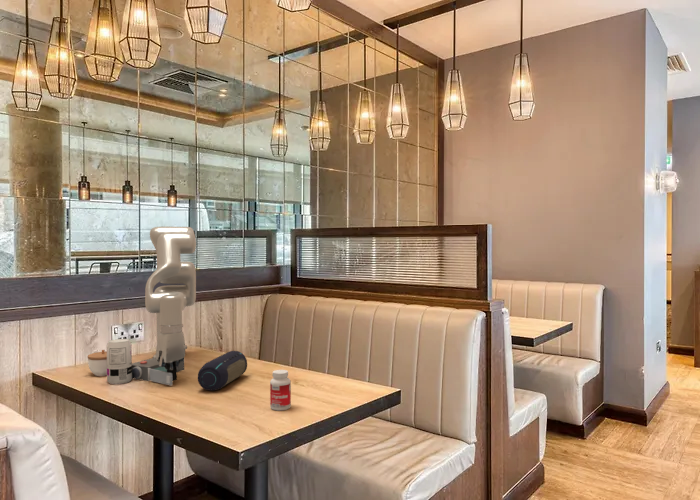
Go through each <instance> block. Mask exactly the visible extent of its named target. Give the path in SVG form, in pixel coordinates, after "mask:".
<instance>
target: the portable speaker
mask: <svg viewBox="0 0 700 500" xmlns="http://www.w3.org/2000/svg"><path fill="white" fill-rule="evenodd" d="M247 368H248V359H247V358H246V356H245V355H244V354H243V353H242V352H241V351H238V350H230V351H227V352H225V353H224V354H221V355H219V356H218V357H215V358H213V359H212V360H209V361H207V362H206V363H204V364H203V365H202V366H201V367H200V369H199V370H198V373H197V381H198V384H199V386H200V387H201V388H203V390H206V391H210V392H211V391H213V392H214V391H218V390H221V389H222V388H223V387H225V386H226V385H227V386H228V384H229V383H231V382H234V380H235V381H236V380H237V378H239V377H241V376H242V375H244V374H245V372H246V371H247Z"/></svg>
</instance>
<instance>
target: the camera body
mask: <svg viewBox="0 0 700 500" xmlns="http://www.w3.org/2000/svg"><path fill="white" fill-rule="evenodd" d="M150 369H155V370H160V371H164V372H167V370H166V369H165V367H160V366H159V362H157V361H156V357H155V358H153V357H151V358H148V359H145V360H141V361H137V362H132V379H133V380H138V381H139V380H140V381H146V382H151V381H150ZM182 371H185V359H184V360H183V361H182V362H180V363H179V365H178V369H177V373H179V372H182ZM132 379H131V380H132Z"/></svg>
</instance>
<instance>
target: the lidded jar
mask: <svg viewBox="0 0 700 500" xmlns="http://www.w3.org/2000/svg"><path fill="white" fill-rule="evenodd" d="M87 365H88V369H89V371H90V372H91V373H92V374H93V375H94V376H95V377H105V376H106V377H107V350H106V351H105V349H101V351H96V352H93V353H90V354H88V355H87Z"/></svg>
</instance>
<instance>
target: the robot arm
mask: <svg viewBox="0 0 700 500" xmlns="http://www.w3.org/2000/svg"><path fill="white" fill-rule="evenodd" d="M149 238H150V240H151V243H152V245H153V246H154V249H155V252H156V269H155V271H154V272H152V274H151V275H150V276H149V277H148V279H147V281H146V283H145V290H144V292H145V296H144V297H145V299H144V300H145V301H144V302H145V303H144V305H145V309H146V311H148V313H149V314H155V316H156V319H155V320H156V347H155V354H154V355H152V358H155V357H156V361H157V362H159V366H160V367H165V369H166V370H167V372H169V373H172V376H173V382H175V381H176V380H177V379H178V372H177V369H178V365H179V363H180V362H182V361H183V360H184V361H185V356H186V350H187V349H188V345H186V341H185V335H184V331H183V328H184V324H183V311H184V310H185V308H186V307H191V306H194V305H195V303H196V299H197V271H196V270H197V269H196V266H195V264H194V263H193V262H191V261H181V260H182V259H181V255H183V254H184V255H186V254H187V255H190V254H194V253H195V251H196V248H197V240H196V235H195V231H194V229H193V228H192V227H190V226H154V227H151V229H150V230H149ZM159 283H160V284H164V285H160V286H158V287H156V288H155V286H156V285H157V284H159ZM167 284H168V285H167ZM176 284H177V285H176ZM179 284H180V285H179ZM154 288H155V289H154Z"/></svg>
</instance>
